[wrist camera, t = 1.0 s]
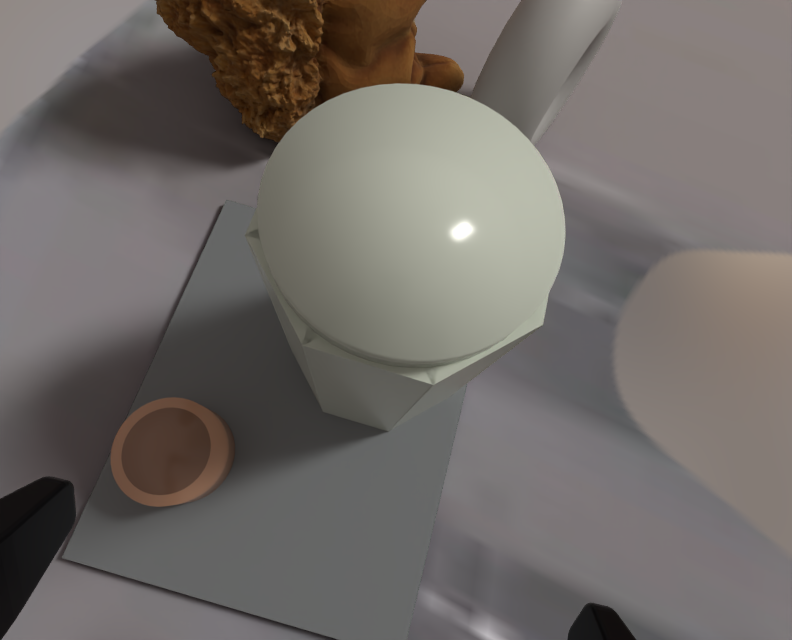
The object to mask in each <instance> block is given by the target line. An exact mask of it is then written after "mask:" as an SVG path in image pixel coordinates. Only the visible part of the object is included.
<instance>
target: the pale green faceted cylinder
mask: <svg viewBox="0 0 792 640" xmlns="http://www.w3.org/2000/svg"><path fill="white" fill-rule="evenodd" d="M245 237H246V239H247V242H248V244H249V247H250V249H251V252H252V254H253V257H254V259H255V261H256V264H257V266H258V269H259V271H260V274H261V276H262V279H263V281H264V284H265V286H266V289H267V291H268V293H269V296H270V298H271V301H272V303H273V306H274V308H275V311H276V313H277V316H278V318H279V320H280V323H281V325H282V328H283V330H284V333H285V335H286V338H287V340H288V343H289V345H290V347H291V350H292V352H293V354H294V356H295V358H296V360H297V362H298V364H299V366H300V368H301V370H302V372H303V374H304V376H305V378H306V379H307V381H308V383H309V385H310V387H311V389H312V391H313V393H314V395H315V397H316V399H317V401H318V403H319V405H320V407H321V409H322V411H323V412H325V413H328V414H332V415H335V416H338V417H342V418H345V419H348V420H352V421H355V422H358V423H362V424H365V425H368V426H372V427H375V428H378V429H382V430H385V431H388V432H389V431H390V430H392V429H394V428H396V427H397V426H399V425H401V424H403V423H405V422H406V421H408V420H410V419H412V418H413V417H415V416H417V415H419V414H421V413H422V412H424V411H426V410H428V409H429V408H431V407H433V406H435V405H437V404H438V403H440V402H442V401H444V400H445V399H447V398H449V397H450V396H451V395H452V394H454V393H455V392H456V391H458V390H459V389H460V388H462V387H463V386H464V385H466V384H467V383H468V382H469V381H471V380H472V379H473V378H475V377H476V376H477V375H479V374H480V373H481V372H482V371H484V370H485V369H486V368H488V367H489V366H490V365H492V364H493V363H494V362H496V361H497V360H498V359H499V358H501V357H502V356H503V355H505V354H506V353H507V352H509V351H510V350H511V349H513V348H514V347H515V346H516V345H518V344H519V343H520V342H522V341H523V340H524V339H526V338H527V337H528V336H529V335H531V334H532V333H533V332H535V331H536V330H537V329H539V328H540V327H541V326H543V321H544V316H545V311H546V306H547V300H548V295H549V291H550V289H551V288H552V285H553V283H554V281H555V278H556V276H557V274H558V272H559V268H560V264H561V261H562V257H563V253H564V244H565V217H564V211H563V205H562V200H561V197H560V194H559V191H558V187H557V184H556V182H555V180H554V178H553V176H552V174H551V171H550V169H549V167H548V166H547V164H546V163H545V161H544V159H543V158H542V156H541V155H540V153H539V152H538V151H537V149H536V148H535V147H534V146H533V144H532V143H531V142H530V141H529V139H528V138H527V137H526V136H525V135H524V134H523V133H522V132H521V131H520V130H519V129H518V128H517V127H516V126H514V125H513V124H512V123H510V122H509V121H508V120H507V119H505V118H504V117H503V116H502V115H500V114H499V113H497V112H495V111H494V110H492V109H491V108H489V107H487V106H486V105H484V104H482V103H480V102H478V101H475V100H473V99H471V98H469V97H467V96H464V95H461V94H458V93H456V92H453V91H449V90H445V89H441V88H437V87H433V86H426V85H419V84H400V83H397V84H383V85H375V86H370V87H364V88H360V89H357V90H353V91H350V92H347V93H344V94H341V95H339V96H337V97H335V98H332V99H330V100H328V101H326V102H324V103H323V104H321V105H319V106H318V107H316V108H314V109H313V110H311V111H310V112H309V113H307V114H306V115H305V116H304V117H302V118H301V119H300V120H298V121H297V122H296V124H295V125H294V126H293V127H292V128H291V129H290V130H289V131H288V132H287V133H286V134H285V135H284V137H283V138H282V139H281V141H280V142H279V143H278V145H277V146H276V148H275V149H274V151H273V153H272V155H271V157H270V159H269V161H268V163H267V165H266V168H265V171H264V174H263V176H262V179H261V183H260V189H259V194H258V202H257V208H256V211H255V213H254V215H253V218H252V220H251V222H250V224H249V227H248V229H247V231H246V234H245Z"/></svg>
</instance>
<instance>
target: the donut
mask: <svg viewBox="0 0 792 640" xmlns="http://www.w3.org/2000/svg"><path fill="white" fill-rule="evenodd" d="M621 3H622V0H521V2H520V3H519V5H518V6H517V8H516V10H515V11H514V13H513V14H512V16H511V17H510V19H509V20H508V22H507V23H506V25H505V27H504V29H503V31H502V32H501V34H500V36H499V38H498V40H497V41H496V43H495V45H494V47H493V49H492V50H491V52H490V54H489V56H488V58H487V61H486V63H485V65H484V67H483V69H482V71H481V73H480V75H479V78H478V80H477V82H476V84H475V87H474V90H473V92H472V95H471V99H473V100H475V101H478V102H480V103H482V104H484V105H486V106H487V107H489V108H491V109H492V110H494V111H495V112H497V113H499V114H500V115H502V116H503V117H504V118H505V119H507V120H508V121H509V122H510V123H512V124H513V125H514V126H516V127H517V128H518V129H519V130H520V131H521V132H522V133H523V134H524V135H525V136H526V137H527V138H528V139H529V141H530V142H531V143H532V144H533V146H535V145H536V144H537V142H538V141H539V140H540V139H541V137H542V136H543V135H544V133H545V132H546V131H547V129H548V128H549V127H550V125H551V124H552V122H553V121H554V119H555V118H556V117H557V115H558V114H559V112H560V111H561V109H562V108H563V106H564V105H565V103H566V102H567V100H568V99H569V97H570V96H571V94H572V93H573V91H574V90H575V88H576V86H577V85H578V83H579V82H580V80H581V78H582V77H583V75H584V74H585V72H586V70H587V69H588V67H589V66H590V64H591V62H592V61H593V59H594V57H595V55H596V54H597V52H598V50H599V49H600V47H601V45H602V43H603V41H604V40H605V38H606V36H607V34H608V32H609V30H610V28H611V26H612V24H613V22H614V20H615V18H616V16H617V14H618V12H619V9H620V7H621Z"/></svg>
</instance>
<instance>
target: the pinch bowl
mask: <svg viewBox="0 0 792 640" xmlns="http://www.w3.org/2000/svg"><path fill="white" fill-rule="evenodd" d="M234 456H235V441H234V437H233V434H232V431H231V429H230V427H229V425H228V424H227V423H226V421H225V420H224V419H223V418H222V417H221V416H219V415H218V414H217V413H215V412H213V411H211V410H210V409H208V408H206V407H204V406H202V405H200V404H198V403H196V402H194V401H191V400H188V399H184V398H176V397H172V398H162V399H158V400H155V401H152V402H150V403H147V404H145V405H144V406H142V407H140V408H139V409H137V410H136V411H135V412H133V413H132V414H131V415H130V416H129V417H128V418H127V419H126V420H125V422H124V423H123V424H122V426H121V427H120V429H119V430H118V432H117V434H116V436H115V439H114V441H113V445H112V449H111V469H112V473H113V476H114V479H115V481H116V483H117V484H118V486H119V487H120V489H121V490H122V491H123V492H124V493H125V494H126V495H127V496H128V497H130V498H131V499H133V500H134V501H136V502H138V503H141V504H144V505H148V506H156V507H162V506H171V505H177V504H183V503H189V502H194V501H197V500H200V499H202V498H204V497H206V496H208V495H209V494H211V493H212V492H213V491H215V490H216V489H217V488H218V487H219V486H220V485H221V484H222V483H223V481H224V480H225V479H226V477H227V476H228V474H229V472H230V470H231V468H232V465H233V461H234Z"/></svg>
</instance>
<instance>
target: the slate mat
mask: <svg viewBox="0 0 792 640" xmlns="http://www.w3.org/2000/svg"><path fill="white" fill-rule="evenodd" d="M255 211H256V208H252V207H249V206H246V205H243V204H239V203H236V202H233V201H229V200H226V202H225V204H224V206H223V208H222V211H221V213H220V215H219V217H218V219H217V222H216V224H215V226H214V228H213V230H212V232H211V235H210V237H209V239H208V241H207V243H206V245H205V248H204V250H203V252H202V254H201V256H200V258H199V261H198V263H197V265H196V267H195V269H194V272H193V274H192V276H191V278H190V280H189V282H188V285H187V287H186V289H185V291H184V293H183V295H182V298H181V300H180V302H179V304H178V306H177V308H176V311H175V313H174V315H173V317H172V319H171V322H170V324H169V326H168V328H167V330H166V332H165V335H164V337H163V339H162V341H161V343H160V345H159V348H158V350H157V352H156V354H155V356H154V358H153V361H152V363H151V365H150V367H149V369H148V372H147V374H146V376H145V378H144V380H143V382H142V385H141V387H140V389H139V391H138V393H137V395H136V398H135V400H134V402H133V404H132V406H131V408H130V411H129V413H128V415H127V417H126V419H127V418H128V417H129V416H130V415H131V414H132V413H133V412H135V411H136V410H137V409H139V408H140V407H142V406H144V405H145V404H147V403H150V402H152V401H155V400H158V399H162V398H172V397H176V398H184V399H188V400H191V401H194V402H196V403H198V404H200V405H202V406H204V407H206V408H208V409H210V410H211V411H213V412H215V413H217V414H218V415H219V416H221V417H222V418H223V419H224V420H225V421H226V423H227V424H228V425H229V427H230V429H231V431H232V434H233V437H234V441H235V456H234V461H233V465H232V468H231V470H230V472H229V474H228V476H227V477H226V479H225V480H224V481H223V483H222V484H221V485H220V486H219V487H218V488H217V489H216V490H215V491H213V492H212V493H211V494H209V495H208V496H206V497H204V498H202V499H200V500H197V501H194V502H189V503H183V504H177V505H171V506H162V507H156V506H148V505H144V504H141V503H138V502H136V501H134V500H133V499H131V498H130V497H128V496H127V495H126V494H125V493H124V492H123V491H122V490H121V489H120V487H119V486H118V484H117V483H116V481H115V479H114V476H113V473H112V469H111V452H110V454H109V456H108V458H107V461H106V463H105V465H104V467H103V469H102V472H101V474H100V476H99V478H98V480H97V482H96V485H95V487H94V489H93V491H92V493H91V495H90V498H89V500H88V502H87V504H86V506H85V508H84V511H83V513H82V515H81V517H80V519H79V522H78V524H77V526H76V528H75V530H74V532H73V535H72V537H71V539H70V541H69V543H68V545H67V548H66V550H65V552H64V554H63V556H62V558H64V559H67V560H70V561H74V562H77V563H81V564H84V565H87V566H91V567H94V568H97V569H101V570H104V571H108V572H111V573H114V574H118V575H121V576H125V577H128V578H131V579H135V580H138V581H142V582H145V583H148V584H152V585H155V586H158V587H162V588H165V589H169V590H172V591H175V592H179V593H182V594H186V595H189V596H192V597H196V598H199V599H202V600H206V601H209V602H213V603H216V604H219V605H223V606H226V607H230V608H233V609H236V610H240V611H243V612H247V613H250V614H253V615H257V616H260V617H263V618H267V619H270V620H274V621H277V622H280V623H284V624H287V625H291V626H294V627H297V628H301V629H304V630H308V631H311V632H314V633H318V634H321V635H324V636H328V637H331V638H335V639H338V640H407V637H408V633H409V628H410V624H411V620H412V616H413V611H414V607H415V603H416V599H417V595H418V590H419V586H420V582H421V578H422V573H423V569H424V565H425V561H426V556H427V552H428V548H429V544H430V540H431V535H432V531H433V527H434V523H435V518H436V514H437V510H438V506H439V501H440V497H441V493H442V489H443V485H444V480H445V476H446V472H447V468H448V463H449V459H450V455H451V451H452V446H453V442H454V438H455V434H456V429H457V425H458V421H459V417H460V413H461V408H462V404H463V400H464V396H465V391H466V387H467V384H466V385H464V386H463V387H462V388H460V389H459V390H458V391H456V392H455V393H454V394H452V395H451V396H450V397H449V398H447V399H445V400H444V401H442V402H440V403H438V404H437V405H435V406H433V407H431V408H429V409H428V410H426V411H424V412H422V413H421V414H419V415H417V416H415V417H413V418H412V419H410V420H408V421H406V422H405V423H403V424H401V425H399V426H397V427H396V428H394V429H392V430H390V431H389V432H388V431H385V430H382V429H378V428H375V427H372V426H368V425H365V424H362V423H358V422H355V421H352V420H348V419H345V418H342V417H338V416H335V415H332V414H328V413H325V412H323V411H322V409H321V407H320V405H319V403H318V401H317V399H316V397H315V395H314V393H313V391H312V389H311V387H310V385H309V383H308V381H307V379H306V378H305V376H304V374H303V372H302V370H301V368H300V366H299V364H298V362H297V360H296V358H295V356H294V354H293V352H292V350H291V347H290V345H289V343H288V340H287V338H286V335H285V333H284V330H283V328H282V325H281V323H280V320H279V318H278V316H277V313H276V311H275V308H274V306H273V303H272V301H271V298H270V296H269V293H268V291H267V289H266V286H265V284H264V281H263V279H262V276H261V274H260V271H259V269H258V266H257V264H256V261H255V259H254V257H253V254H252V252H251V249H250V247H249V244H248V242H247V239H246V237H245V234H246V231H247V229H248V227H249V224H250V222H251V220H252V218H253V215H254V213H255ZM126 419H125V420H126Z"/></svg>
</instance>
